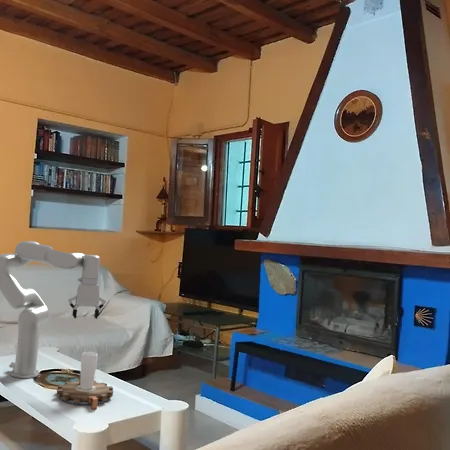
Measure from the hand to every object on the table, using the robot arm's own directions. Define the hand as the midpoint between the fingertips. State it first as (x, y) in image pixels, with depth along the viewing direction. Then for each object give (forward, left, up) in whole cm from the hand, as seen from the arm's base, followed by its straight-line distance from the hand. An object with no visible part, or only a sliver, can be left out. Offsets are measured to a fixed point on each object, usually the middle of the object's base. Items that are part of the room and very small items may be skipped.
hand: (85, 318), depth 242 cm
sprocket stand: (+13, -13, -30) cm, 35 cm away
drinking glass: (+13, -13, -27) cm, 33 cm away
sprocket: (+13, -13, -29) cm, 34 cm away
